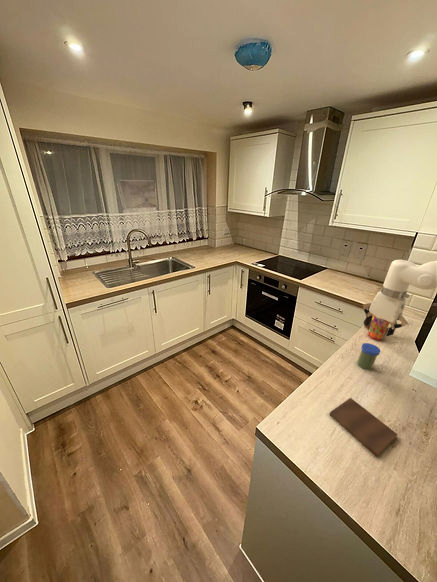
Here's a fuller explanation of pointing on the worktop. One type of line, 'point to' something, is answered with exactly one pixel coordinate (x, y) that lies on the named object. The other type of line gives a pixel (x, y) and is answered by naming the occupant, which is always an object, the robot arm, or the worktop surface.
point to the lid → (370, 349)
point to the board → (363, 426)
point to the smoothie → (377, 328)
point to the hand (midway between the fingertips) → (377, 329)
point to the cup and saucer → (369, 325)
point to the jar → (366, 361)
